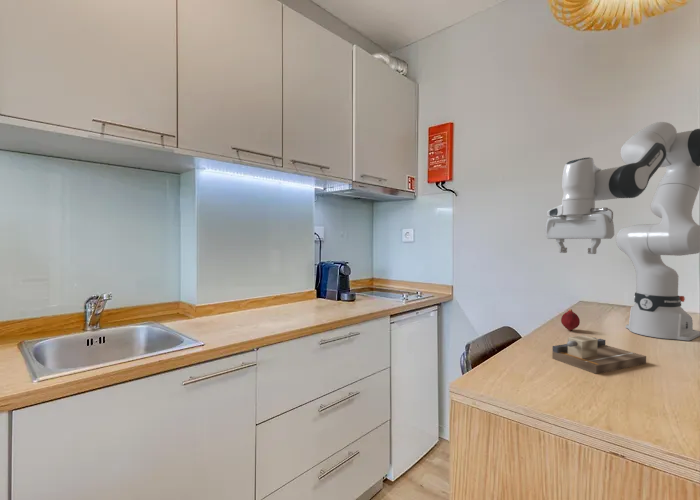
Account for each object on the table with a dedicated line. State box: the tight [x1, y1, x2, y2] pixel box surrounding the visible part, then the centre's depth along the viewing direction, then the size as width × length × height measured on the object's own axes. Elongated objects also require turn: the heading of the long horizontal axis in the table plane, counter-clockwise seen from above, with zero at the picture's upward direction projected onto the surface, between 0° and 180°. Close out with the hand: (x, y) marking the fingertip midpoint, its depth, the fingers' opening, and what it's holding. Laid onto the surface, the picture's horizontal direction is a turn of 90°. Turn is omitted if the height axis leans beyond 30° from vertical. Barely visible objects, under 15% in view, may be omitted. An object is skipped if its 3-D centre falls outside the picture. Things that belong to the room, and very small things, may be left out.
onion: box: [560, 308, 581, 332], centre depth 126 cm, size 6×6×8 cm
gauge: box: [566, 335, 599, 358], centre depth 94 cm, size 10×4×4 cm, turn 111°
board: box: [551, 338, 647, 375], centre depth 95 cm, size 20×12×4 cm, turn 111°
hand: (577, 253), depth 109 cm, fingers open, 8 cm apart
